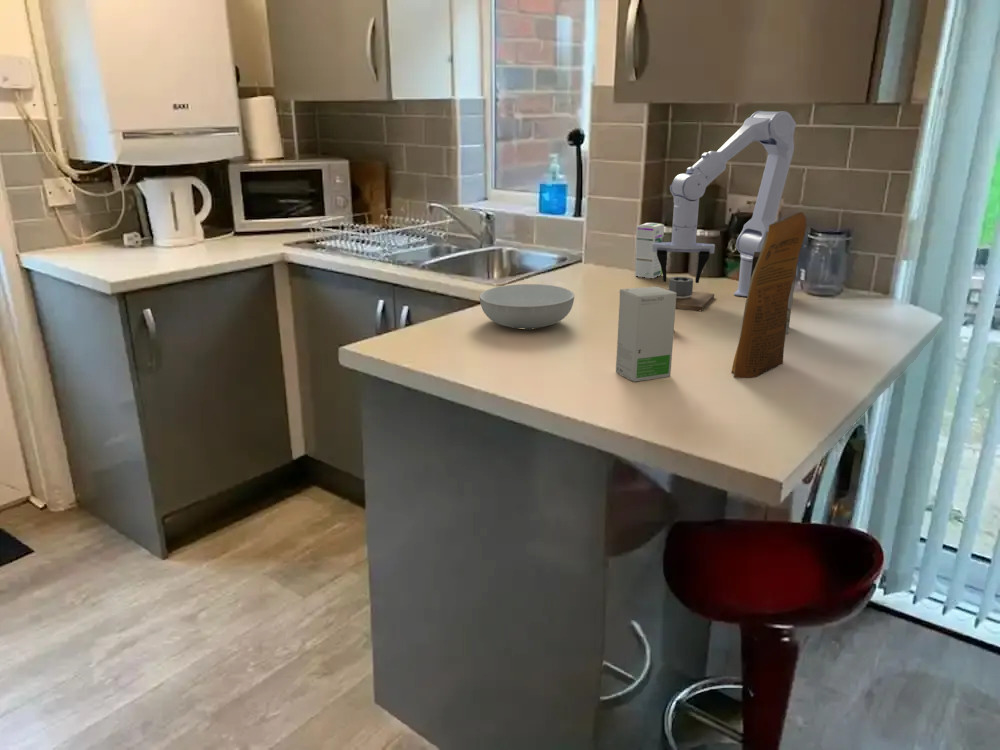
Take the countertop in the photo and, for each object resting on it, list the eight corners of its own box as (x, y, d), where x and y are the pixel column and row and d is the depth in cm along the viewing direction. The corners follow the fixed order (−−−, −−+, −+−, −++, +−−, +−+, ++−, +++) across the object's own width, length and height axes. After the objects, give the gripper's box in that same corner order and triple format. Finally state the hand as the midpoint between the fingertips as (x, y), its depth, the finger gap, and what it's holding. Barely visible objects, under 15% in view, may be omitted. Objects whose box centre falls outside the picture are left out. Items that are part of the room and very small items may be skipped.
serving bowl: (514, 307, 188) (514, 279, 186) (590, 320, 177) (591, 290, 174) (460, 327, 172) (460, 297, 170) (541, 343, 161) (541, 310, 158)
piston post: (692, 296, 193) (693, 280, 192) (687, 300, 189) (688, 284, 187) (671, 293, 195) (672, 278, 194) (666, 298, 191) (667, 282, 190)
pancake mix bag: (802, 361, 148) (821, 211, 139) (752, 386, 136) (770, 224, 126) (769, 353, 153) (785, 208, 144) (718, 377, 140) (732, 219, 131)
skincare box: (633, 383, 138) (637, 296, 132) (613, 371, 143) (617, 288, 138) (672, 376, 141) (678, 291, 136) (651, 365, 147) (656, 284, 141)
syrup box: (652, 279, 216) (656, 226, 211) (633, 276, 219) (636, 224, 214) (662, 275, 220) (665, 223, 215) (643, 273, 224) (646, 221, 219)
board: (714, 297, 195) (714, 293, 195) (701, 310, 184) (702, 306, 183) (659, 292, 201) (659, 288, 201) (643, 304, 189) (643, 300, 189)
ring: (691, 291, 194) (692, 277, 193) (692, 296, 189) (693, 282, 187) (668, 290, 195) (669, 276, 194) (668, 295, 190) (669, 281, 189)
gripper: (715, 223, 189) (710, 279, 193) (653, 222, 191) (650, 277, 196) (717, 228, 182) (712, 285, 187) (653, 226, 185) (650, 283, 189)
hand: (680, 281), depth 191 cm, fingers open, 7 cm apart
